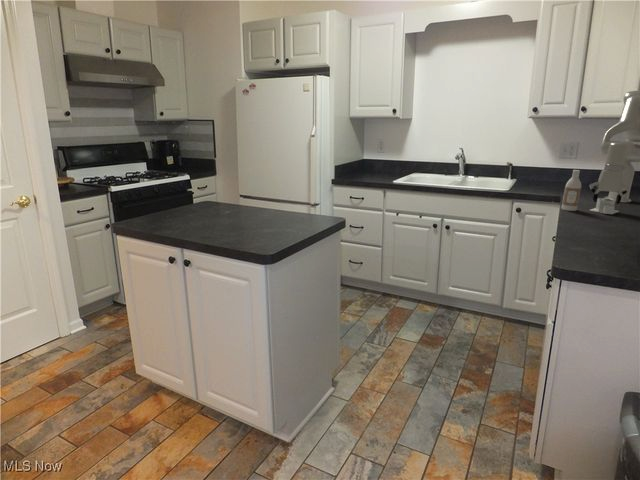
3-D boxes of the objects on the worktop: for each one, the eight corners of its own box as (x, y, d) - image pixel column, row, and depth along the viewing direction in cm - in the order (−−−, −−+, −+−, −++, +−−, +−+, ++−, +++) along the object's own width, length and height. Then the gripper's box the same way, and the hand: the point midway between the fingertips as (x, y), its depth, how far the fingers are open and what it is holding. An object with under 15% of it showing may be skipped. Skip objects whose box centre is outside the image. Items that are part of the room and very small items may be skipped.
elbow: (595, 208, 221) (597, 198, 219) (609, 209, 219) (611, 199, 217) (601, 213, 210) (603, 202, 208) (615, 214, 208) (618, 203, 206)
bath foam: (560, 210, 217) (568, 170, 211) (561, 207, 223) (568, 168, 217) (576, 211, 214) (584, 171, 208) (576, 209, 219) (584, 170, 214)
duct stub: (596, 208, 223) (599, 196, 222) (618, 211, 216) (621, 199, 214) (589, 210, 217) (591, 198, 215) (611, 214, 210) (614, 201, 208)
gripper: (631, 168, 211) (623, 202, 216) (591, 166, 217) (584, 199, 222) (636, 170, 204) (628, 205, 210) (595, 168, 210) (587, 202, 215)
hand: (605, 202), depth 216 cm, fingers open, 9 cm apart
